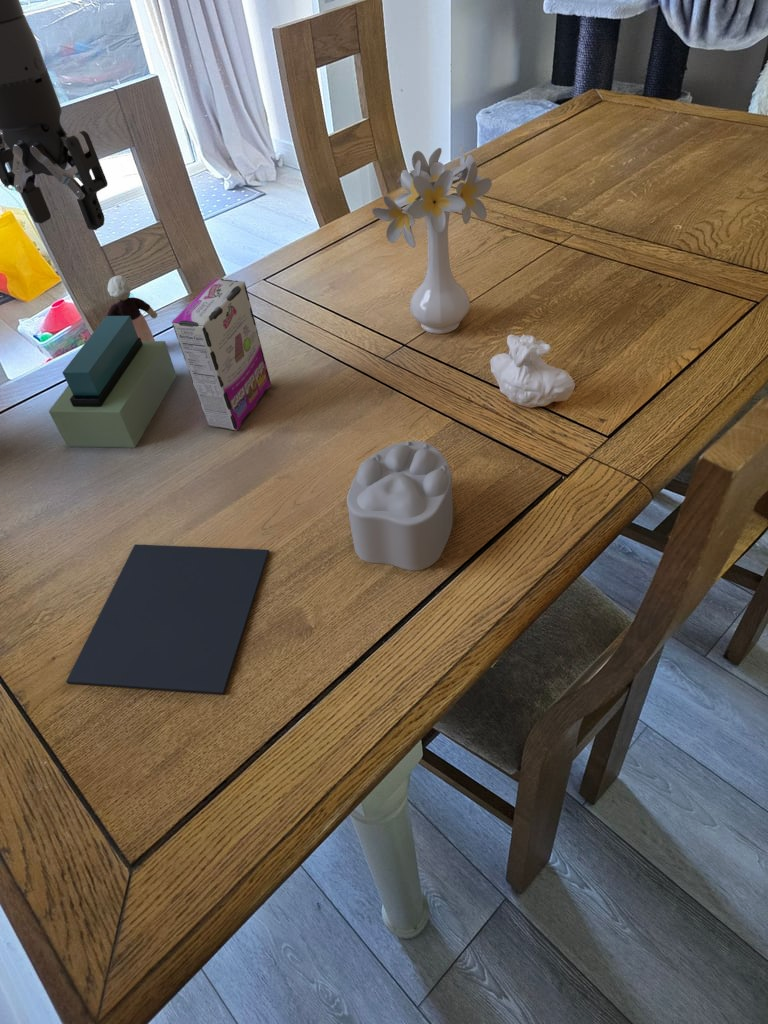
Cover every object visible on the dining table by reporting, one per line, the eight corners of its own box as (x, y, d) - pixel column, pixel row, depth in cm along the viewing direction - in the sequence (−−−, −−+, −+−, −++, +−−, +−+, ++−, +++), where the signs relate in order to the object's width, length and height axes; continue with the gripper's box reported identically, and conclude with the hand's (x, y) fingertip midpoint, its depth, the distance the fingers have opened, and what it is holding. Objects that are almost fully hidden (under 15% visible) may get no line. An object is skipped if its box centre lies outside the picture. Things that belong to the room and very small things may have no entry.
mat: (67, 683, 68) (65, 681, 67) (135, 546, 80) (134, 544, 80) (224, 694, 65) (222, 692, 65) (269, 551, 78) (268, 549, 78)
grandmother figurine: (159, 338, 114) (133, 264, 105) (170, 347, 111) (144, 272, 102) (115, 357, 110) (85, 282, 101) (126, 366, 108) (95, 291, 99)
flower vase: (374, 347, 106) (356, 176, 89) (431, 292, 117) (426, 130, 99) (450, 366, 101) (447, 189, 83) (503, 307, 112) (510, 139, 94)
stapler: (101, 407, 90) (87, 376, 87) (72, 406, 91) (57, 376, 87) (143, 344, 101) (132, 314, 97) (117, 344, 101) (105, 315, 98)
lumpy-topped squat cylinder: (344, 557, 76) (333, 500, 70) (381, 479, 85) (375, 423, 79) (435, 575, 74) (432, 518, 67) (464, 493, 82) (464, 435, 76)
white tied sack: (487, 400, 98) (462, 371, 88) (509, 351, 98) (486, 316, 88) (566, 426, 93) (548, 398, 83) (589, 374, 93) (575, 340, 83)
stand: (66, 446, 95) (48, 411, 91) (115, 375, 107) (101, 341, 102) (135, 447, 93) (119, 412, 89) (177, 375, 105) (165, 340, 101)
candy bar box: (242, 381, 103) (213, 277, 91) (272, 385, 101) (247, 280, 90) (204, 427, 95) (169, 320, 84) (237, 432, 94) (205, 324, 82)
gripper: (-67, 80, 74) (4, 231, 85) (34, 83, 69) (95, 243, 80) (-13, 61, 78) (47, 207, 90) (84, 63, 74) (135, 217, 85)
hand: (70, 224), depth 85 cm, fingers open, 8 cm apart
